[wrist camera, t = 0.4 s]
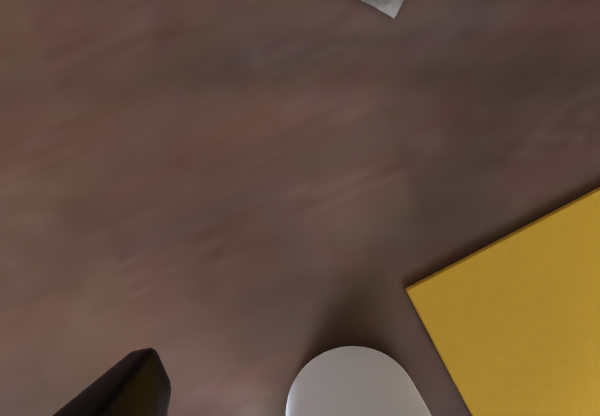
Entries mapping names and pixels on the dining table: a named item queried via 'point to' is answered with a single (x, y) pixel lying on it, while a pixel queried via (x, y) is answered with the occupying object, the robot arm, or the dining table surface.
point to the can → (354, 386)
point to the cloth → (523, 317)
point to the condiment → (386, 6)
